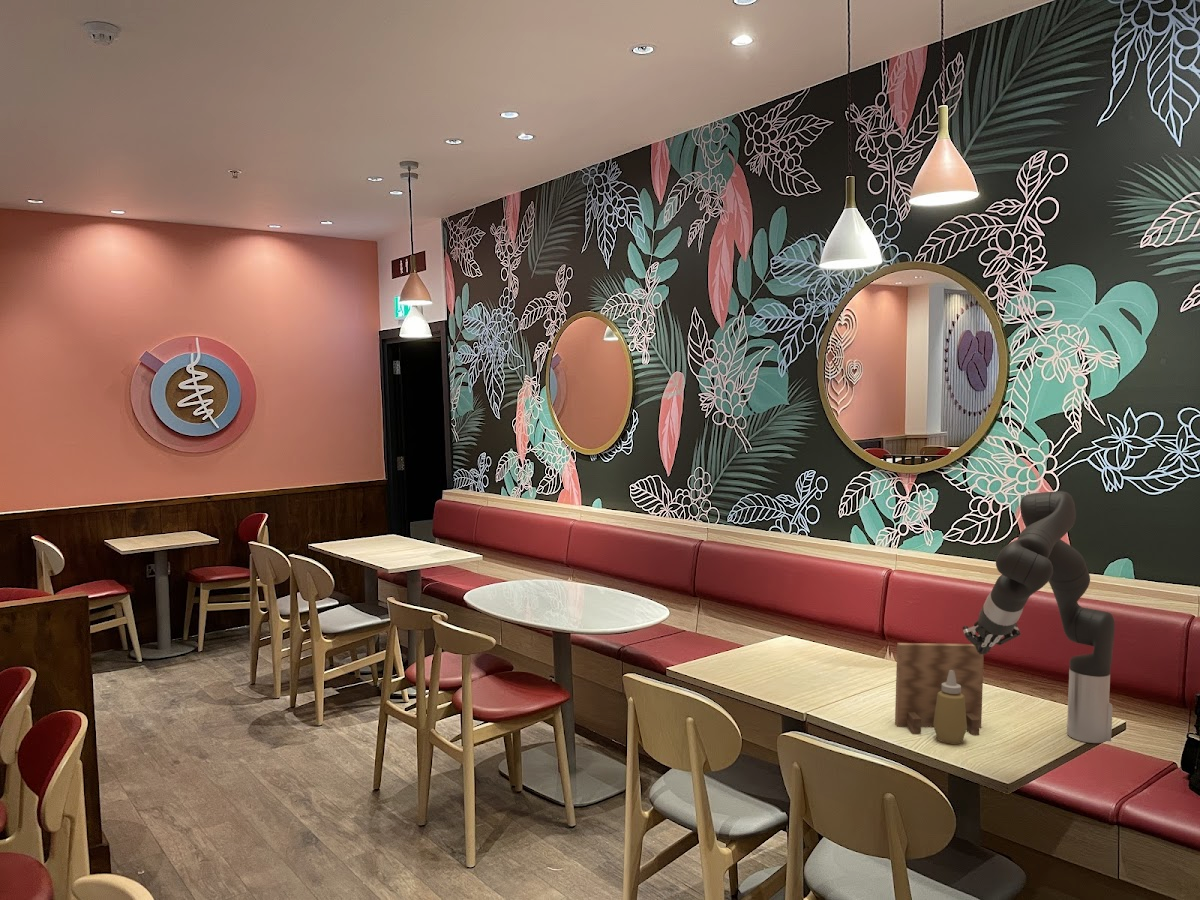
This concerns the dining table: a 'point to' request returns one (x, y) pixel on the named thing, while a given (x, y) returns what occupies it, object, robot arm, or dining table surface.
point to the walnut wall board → (936, 682)
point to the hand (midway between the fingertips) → (981, 650)
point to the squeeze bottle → (950, 712)
